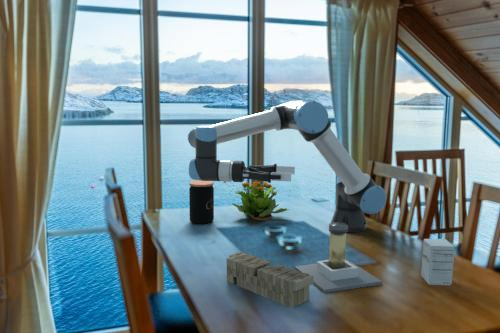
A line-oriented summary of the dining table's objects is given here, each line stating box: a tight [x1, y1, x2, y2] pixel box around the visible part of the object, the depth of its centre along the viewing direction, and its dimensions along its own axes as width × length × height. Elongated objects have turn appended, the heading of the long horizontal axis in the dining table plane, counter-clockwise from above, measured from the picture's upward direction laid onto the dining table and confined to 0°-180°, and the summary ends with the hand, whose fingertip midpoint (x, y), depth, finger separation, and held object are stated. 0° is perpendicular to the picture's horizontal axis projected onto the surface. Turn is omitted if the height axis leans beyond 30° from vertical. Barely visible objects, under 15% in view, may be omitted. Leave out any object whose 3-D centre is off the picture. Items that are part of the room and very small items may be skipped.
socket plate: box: [294, 259, 383, 294], centre depth 154 cm, size 20×20×4 cm
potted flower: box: [231, 181, 291, 221], centre depth 222 cm, size 25×24×18 cm
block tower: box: [226, 251, 314, 309], centre depth 143 cm, size 8×8×29 cm
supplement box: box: [420, 238, 456, 286], centre depth 151 cm, size 7×7×13 cm
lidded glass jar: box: [328, 222, 349, 270], centre depth 153 cm, size 6×6×16 cm
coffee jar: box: [188, 180, 215, 226], centre depth 214 cm, size 11×11×18 cm
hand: (292, 173), depth 167 cm, fingers open, 13 cm apart
